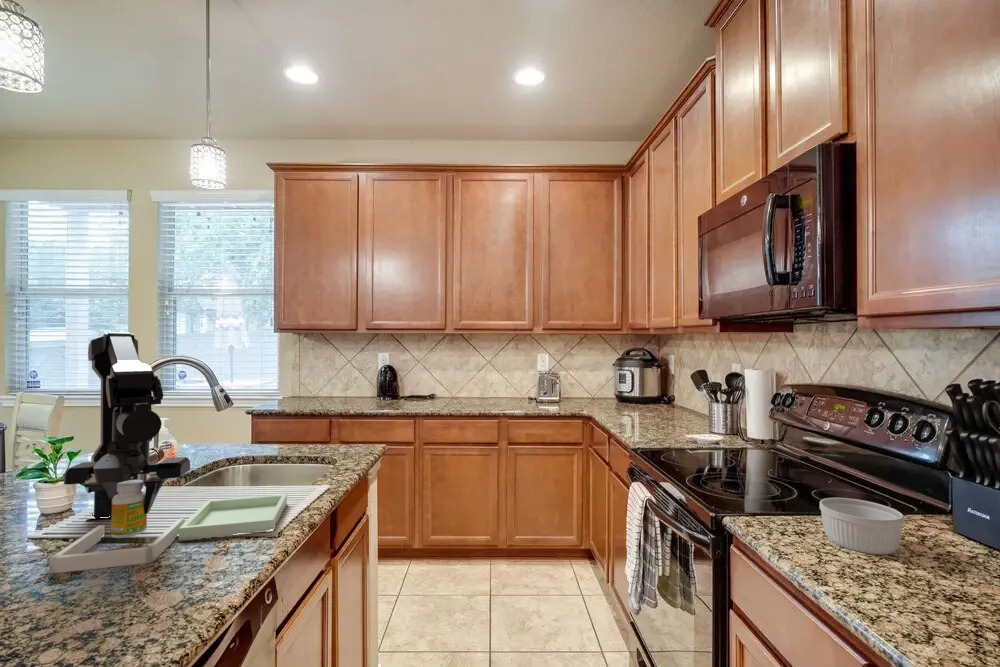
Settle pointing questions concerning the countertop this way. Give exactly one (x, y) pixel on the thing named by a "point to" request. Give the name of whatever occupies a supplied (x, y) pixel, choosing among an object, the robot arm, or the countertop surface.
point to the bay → (109, 552)
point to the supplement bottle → (128, 510)
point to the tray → (233, 517)
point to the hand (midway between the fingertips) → (129, 514)
